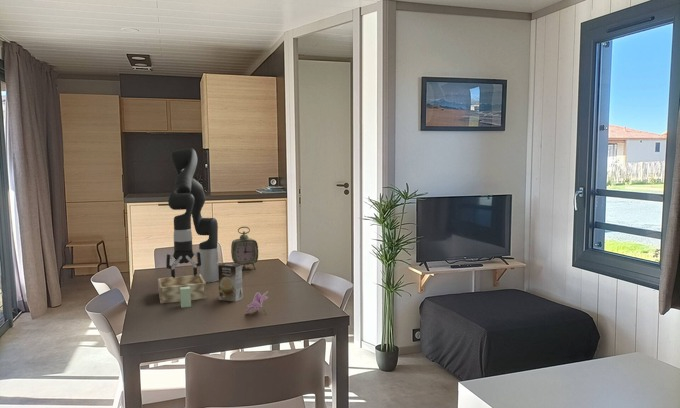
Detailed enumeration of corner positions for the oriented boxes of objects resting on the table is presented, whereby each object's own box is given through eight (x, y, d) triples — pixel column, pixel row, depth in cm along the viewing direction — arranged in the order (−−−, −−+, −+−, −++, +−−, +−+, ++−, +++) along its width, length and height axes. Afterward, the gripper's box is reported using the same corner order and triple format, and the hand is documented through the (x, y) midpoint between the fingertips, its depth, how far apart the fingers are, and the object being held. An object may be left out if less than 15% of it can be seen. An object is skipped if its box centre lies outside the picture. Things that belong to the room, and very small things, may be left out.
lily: (273, 310, 215) (262, 290, 216) (281, 306, 205) (270, 285, 206) (248, 324, 209) (237, 303, 211) (255, 320, 199) (244, 298, 200)
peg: (190, 304, 223) (189, 286, 223) (191, 306, 220) (190, 288, 219) (180, 305, 222) (179, 287, 221) (181, 307, 218) (180, 289, 218)
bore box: (201, 288, 251) (200, 274, 251) (206, 298, 233) (206, 283, 232) (158, 293, 244) (157, 278, 243) (160, 303, 225) (159, 287, 225)
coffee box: (218, 300, 230) (217, 265, 228) (226, 296, 236) (224, 262, 234) (236, 301, 226) (235, 266, 225) (243, 298, 233) (242, 263, 231)
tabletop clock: (233, 271, 290) (232, 228, 288) (231, 268, 298) (229, 226, 296) (258, 269, 295) (257, 226, 293) (255, 266, 303) (254, 225, 301)
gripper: (199, 237, 225) (200, 273, 226) (165, 239, 219) (166, 276, 221) (201, 239, 218) (202, 277, 219) (165, 241, 212) (167, 280, 214)
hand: (184, 276), depth 220 cm, fingers open, 8 cm apart
